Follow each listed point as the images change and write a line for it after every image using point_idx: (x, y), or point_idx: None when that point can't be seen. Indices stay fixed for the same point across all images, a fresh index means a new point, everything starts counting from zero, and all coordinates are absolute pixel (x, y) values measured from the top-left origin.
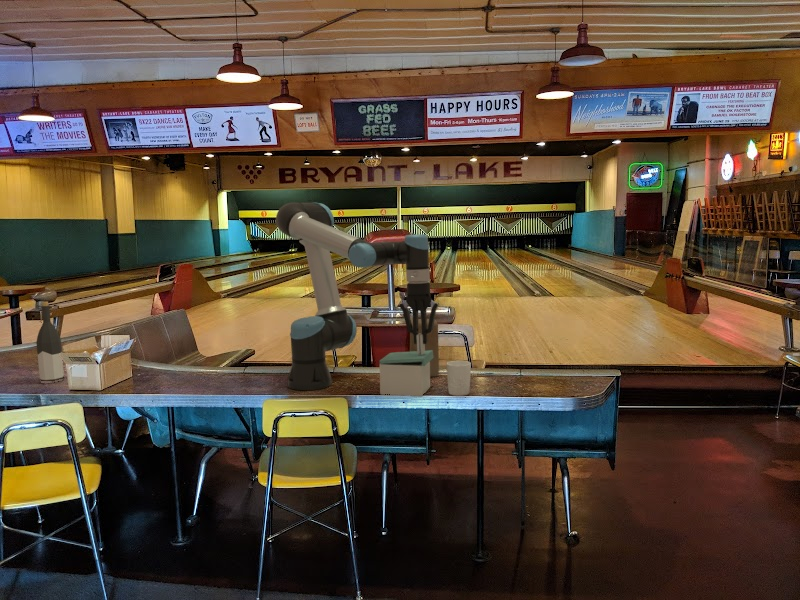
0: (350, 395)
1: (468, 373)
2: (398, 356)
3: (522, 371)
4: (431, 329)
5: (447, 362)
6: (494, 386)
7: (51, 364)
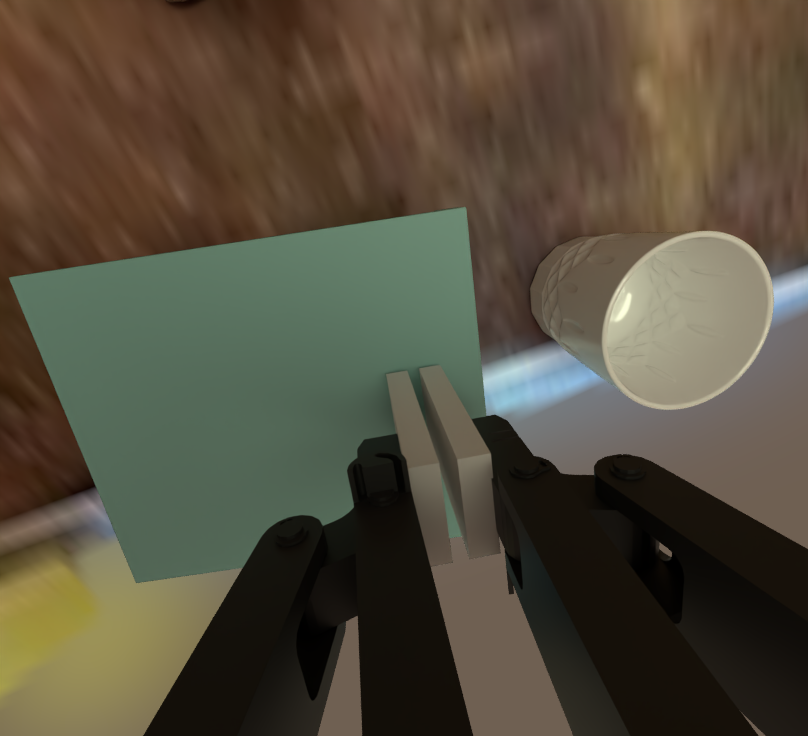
0: (74, 515)
1: (711, 329)
2: (221, 454)
3: None
4: (669, 563)
5: (606, 331)
6: (744, 83)
7: None
